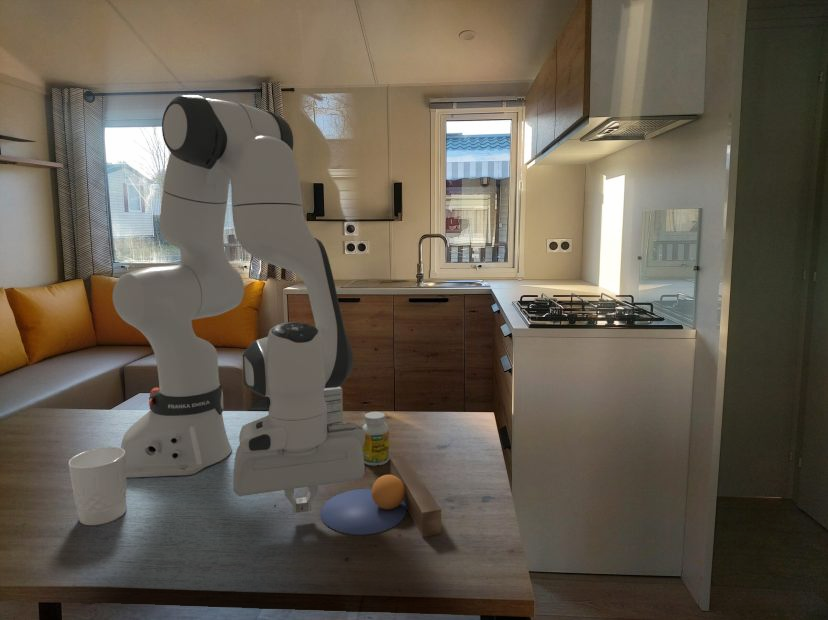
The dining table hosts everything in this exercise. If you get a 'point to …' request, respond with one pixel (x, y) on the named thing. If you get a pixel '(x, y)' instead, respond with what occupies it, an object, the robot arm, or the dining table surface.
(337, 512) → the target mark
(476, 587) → the dining table surface
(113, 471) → the white cup
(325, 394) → the supplement box
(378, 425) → the supplement bottle
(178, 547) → the dining table surface
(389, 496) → the ball
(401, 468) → the rail
